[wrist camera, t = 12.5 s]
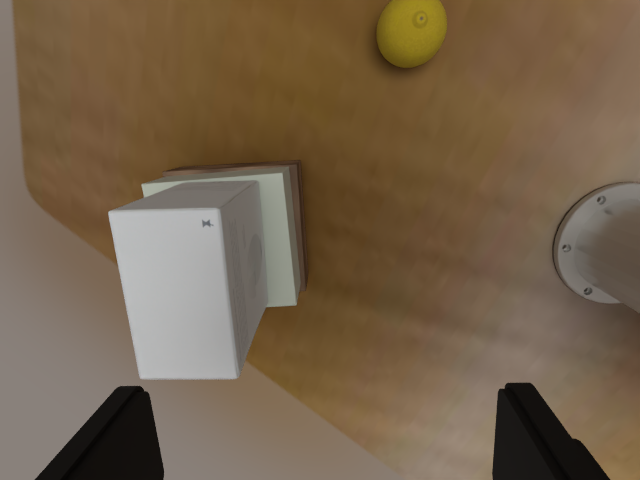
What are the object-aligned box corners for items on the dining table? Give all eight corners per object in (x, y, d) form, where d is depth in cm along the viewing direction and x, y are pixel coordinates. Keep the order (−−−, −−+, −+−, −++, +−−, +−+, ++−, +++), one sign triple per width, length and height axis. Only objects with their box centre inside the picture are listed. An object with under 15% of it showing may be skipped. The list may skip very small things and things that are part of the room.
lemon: (393, 86, 38) (410, 75, 30) (360, 34, 37) (368, 9, 29) (444, 47, 37) (474, 26, 29) (411, -7, 36) (433, -44, 28)
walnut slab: (300, 159, 40) (296, 164, 35) (308, 272, 43) (305, 290, 39) (182, 166, 41) (162, 171, 36) (198, 277, 44) (182, 296, 39)
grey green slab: (288, 166, 35) (282, 172, 31) (300, 282, 38) (296, 305, 34) (166, 176, 36) (141, 184, 31) (187, 290, 39) (167, 313, 34)
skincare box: (176, 182, 31) (101, 209, 21) (259, 179, 31) (224, 205, 21) (193, 306, 34) (134, 383, 24) (269, 304, 34) (243, 381, 24)
